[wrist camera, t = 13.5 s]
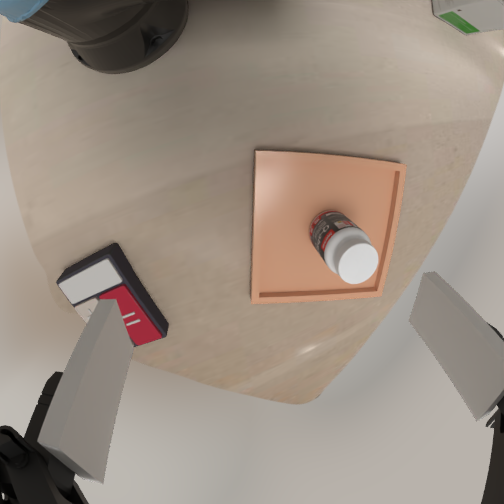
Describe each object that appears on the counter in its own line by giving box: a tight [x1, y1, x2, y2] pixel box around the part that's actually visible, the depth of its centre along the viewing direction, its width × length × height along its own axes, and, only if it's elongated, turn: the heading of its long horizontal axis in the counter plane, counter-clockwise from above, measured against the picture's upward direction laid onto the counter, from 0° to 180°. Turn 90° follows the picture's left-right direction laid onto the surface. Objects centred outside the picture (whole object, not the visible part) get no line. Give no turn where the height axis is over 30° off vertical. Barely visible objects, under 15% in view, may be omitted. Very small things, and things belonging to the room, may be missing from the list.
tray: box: [250, 150, 407, 304], centre depth 37 cm, size 20×20×2 cm
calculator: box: [56, 243, 169, 347], centre depth 38 cm, size 11×4×15 cm
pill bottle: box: [309, 210, 378, 284], centre depth 32 cm, size 6×6×10 cm
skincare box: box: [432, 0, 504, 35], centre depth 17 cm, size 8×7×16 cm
